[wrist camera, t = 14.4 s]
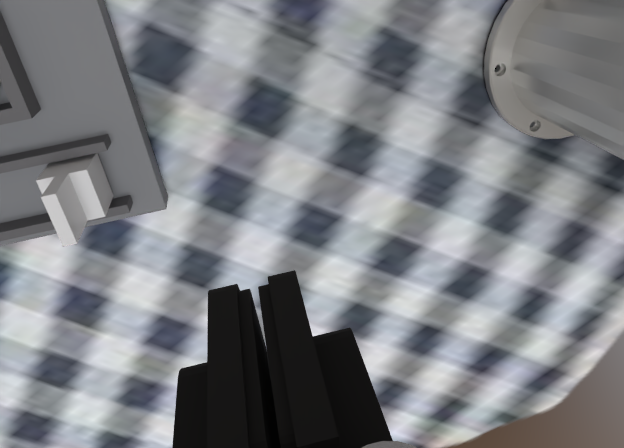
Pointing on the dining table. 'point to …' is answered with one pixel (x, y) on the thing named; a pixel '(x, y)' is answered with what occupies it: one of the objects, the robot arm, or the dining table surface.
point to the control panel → (67, 112)
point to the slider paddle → (74, 195)
